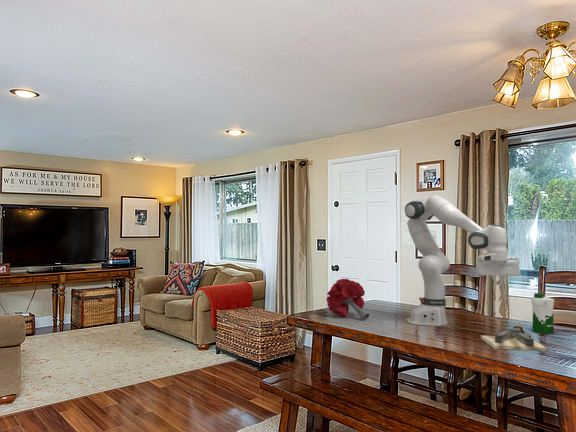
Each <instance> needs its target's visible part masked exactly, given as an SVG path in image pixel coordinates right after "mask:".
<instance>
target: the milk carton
mask: <svg viewBox="0 0 576 432" xmlns="http://www.w3.org/2000/svg"><path fill="white" fill-rule="evenodd" d="M533 294H534V295H533V297H532V296H531V298H530V300H531V304H532V305H531V306H532V327H531V328H532V330H531V332H533V333H535V334H536V333H537V334H540V333H541V334H542V335H551V334H554V333H555V332H554V331H555V327H554V304H555V299H554V298H550V297H544V294H543V293H538V292H537V293H536V292H534V293H533ZM541 334H540V335H541Z"/></svg>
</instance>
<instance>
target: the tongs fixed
mask: <svg viewBox="0 0 576 432" xmlns="http://www.w3.org/2000/svg"><path fill="white" fill-rule="evenodd" d="M505 329H506V330H505V331H510V338H515V331H521V329H519V328H513V327H506V328H505ZM516 339H517V340H519V341H521V342H522V343H524V344H525V345H527V346H534V341H535V340H534V338H532V337H531V338H530V337H528V336H526V335H525V334H523V333H521V332H516Z"/></svg>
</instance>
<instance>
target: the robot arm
mask: <svg viewBox="0 0 576 432" xmlns="http://www.w3.org/2000/svg"><path fill="white" fill-rule="evenodd" d="M404 213H405V216H406V217H408V218H409V219H408V220H407V222H406V223H407V224H406V225H407V228H408V229H407V230H408V232H409V235H410V237H411V239H412V241H413V244H414V246H415V248H416V250H417V252H419V253H420V254H421V256H422V257H421V258H420V259H419V261H418V264H417V265H418V266H417V267H418V269H419V270H420V273H421V276H422V280H423V284H424V285H423V287H424V290H423V291H424V293H423V294H424V296H423V297H421V296H420V297H419V298H418V300H419V301H420V304H419V305H417V306H416V307H414V308H413V309H412V310H411V312H410V317H407V318H406V322H407V323H408V324H411V325H419V326H430V327H431V326H432V327H442V326H447V325H449V323H448V320H447V314H446V307H447V306H446V305H447V303H446V301H447V300H446V297H445V295H446V291H445V288H446V287H445V283H444V281H443V278H442V274H443V273H445V272H446V271H448V270H449V268H450V265H451V263H450V262H451V261H450V259H449V258H448V257H447V256H446V255H445V254H444V253H443V251H442V250H441V248H440V247H439V246H438V244H437V242H436V241H435V239H434V237H433V235H432V233H431V231H430V228H429V227H428V225H427V221H430V220H431V219H432V218H433V217H435V218H436V219H437V220H438V221H439V222H441V223H443V224H444V225H447V226H452V227H457V228H460V229H463V230H465V231H466V232H467V233H469V235H468V238H467V242H468V246H469V247H470V248H471V249H474V250H479V251H483V250H484V251H485V250H486V251H487V252H486V253H483V254H480V255H477V261H476V264H475V274H476V275H477V276H491V279H492V280H493V283H494V284H493V285H496V286H498V285H499V286H501V285H502V284H503V281H504V280H505V277H519V276H520V275H521V268H520V262H521V261H520V259H519V258H517V257H516V256H513V257H512V256H508V249H507V244H508V237H507V229H506V227H504V225H499V224H492V223H491V224H488V226H486V227H483V226H481V225H479V224H478V223H477V222H475V221H474V220H473V219H471V218H469V217H468V216H467V215H466V214H464V213H463V212H462V211H461V210H459V208H457V207H456V206H455V205H453V204H452V203H451V202H450V201H449V200H447V199H445V198H444V197H442V196H439V195H438V194H433V195H431V196H430V197H428V199H418V200H412V201H409V202H407V203H406V205H405V206H404ZM497 277H499V280H497V279H496V278H497Z"/></svg>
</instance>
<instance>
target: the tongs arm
mask: <svg viewBox="0 0 576 432" xmlns="http://www.w3.org/2000/svg"><path fill="white" fill-rule="evenodd" d="M494 336H495V342H499V343H502V342H503V341H505V340H507V339H509V338H510V331H508V330H504V331H501V332H500V333H497V334H495V335H494Z"/></svg>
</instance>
